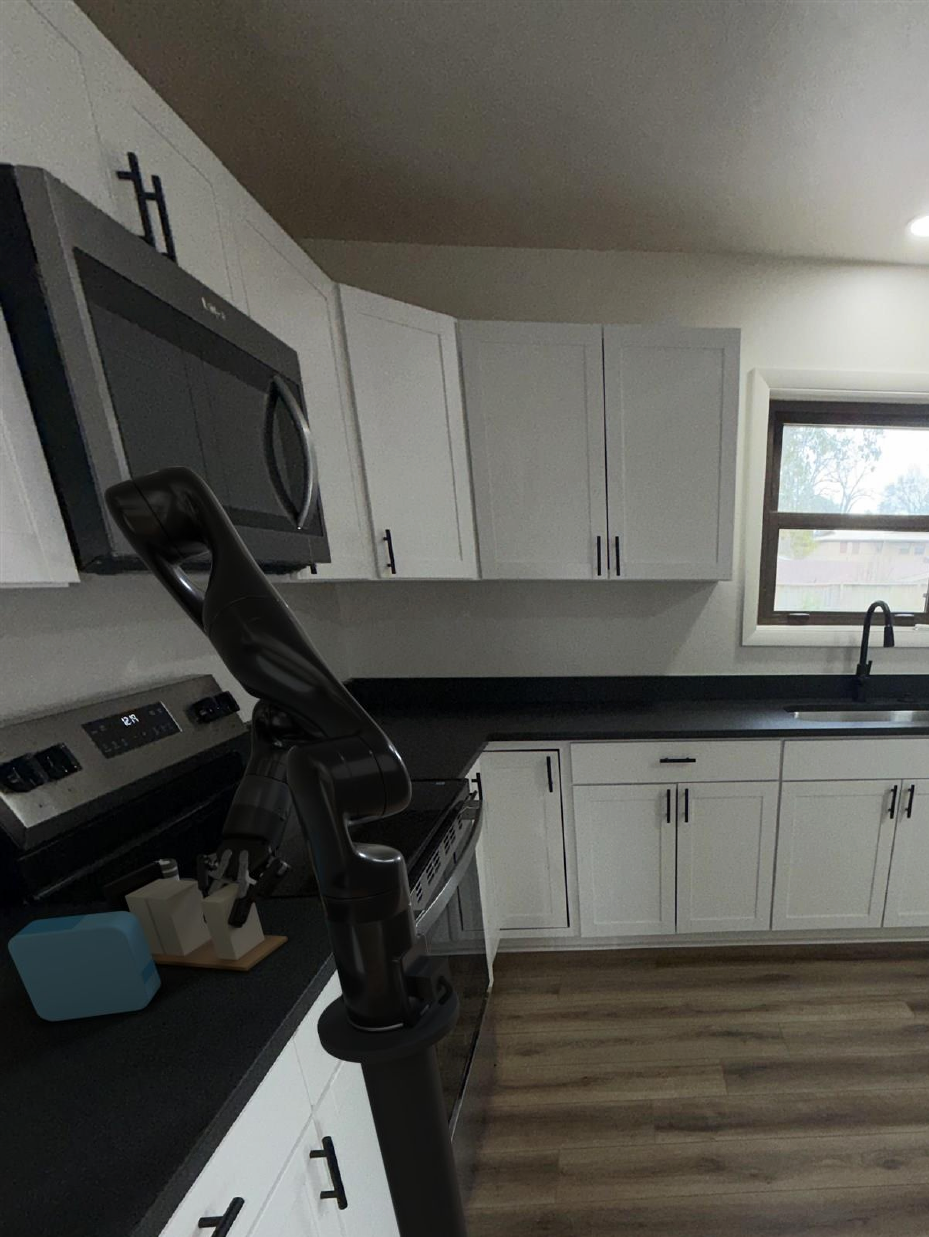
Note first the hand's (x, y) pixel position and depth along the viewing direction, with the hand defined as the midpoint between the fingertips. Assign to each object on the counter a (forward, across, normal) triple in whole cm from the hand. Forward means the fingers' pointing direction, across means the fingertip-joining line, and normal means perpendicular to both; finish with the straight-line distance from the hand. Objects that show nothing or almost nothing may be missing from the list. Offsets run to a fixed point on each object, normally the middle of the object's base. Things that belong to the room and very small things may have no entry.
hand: (222, 924), depth 99 cm
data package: (+13, -8, -5) cm, 16 cm away
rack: (+3, -5, +5) cm, 8 cm away
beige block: (+2, 0, +5) cm, 5 cm away
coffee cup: (-11, -28, +19) cm, 35 cm away
